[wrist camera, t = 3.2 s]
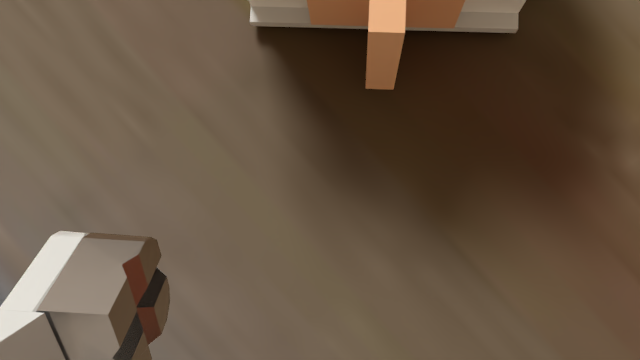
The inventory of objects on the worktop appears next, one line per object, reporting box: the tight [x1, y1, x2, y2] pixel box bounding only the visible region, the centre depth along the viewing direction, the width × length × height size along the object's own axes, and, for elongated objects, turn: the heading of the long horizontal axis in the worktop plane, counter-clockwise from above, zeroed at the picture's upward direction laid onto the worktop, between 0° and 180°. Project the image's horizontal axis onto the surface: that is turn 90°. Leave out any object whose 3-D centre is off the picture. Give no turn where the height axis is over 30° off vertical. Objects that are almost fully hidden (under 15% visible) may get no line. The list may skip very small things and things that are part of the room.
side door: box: [307, 0, 465, 90], centre depth 30 cm, size 8×5×8 cm, turn 87°
